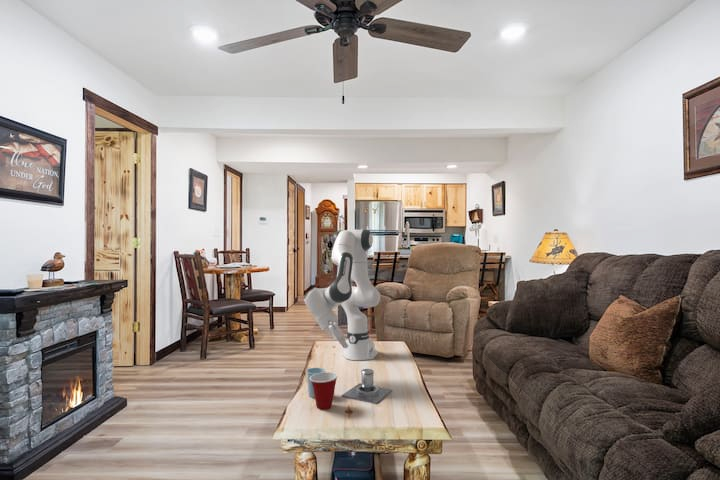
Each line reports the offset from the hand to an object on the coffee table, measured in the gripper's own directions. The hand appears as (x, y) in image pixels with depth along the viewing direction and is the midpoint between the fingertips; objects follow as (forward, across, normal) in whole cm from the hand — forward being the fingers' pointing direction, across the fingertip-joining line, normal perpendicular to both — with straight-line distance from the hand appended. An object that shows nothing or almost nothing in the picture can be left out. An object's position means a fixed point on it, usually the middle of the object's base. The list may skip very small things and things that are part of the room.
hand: (346, 347), depth 178 cm
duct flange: (+20, -6, +4) cm, 22 cm away
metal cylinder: (+20, -6, +4) cm, 21 cm away
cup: (+8, -6, +22) cm, 24 cm away
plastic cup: (+12, -18, +21) cm, 30 cm away
